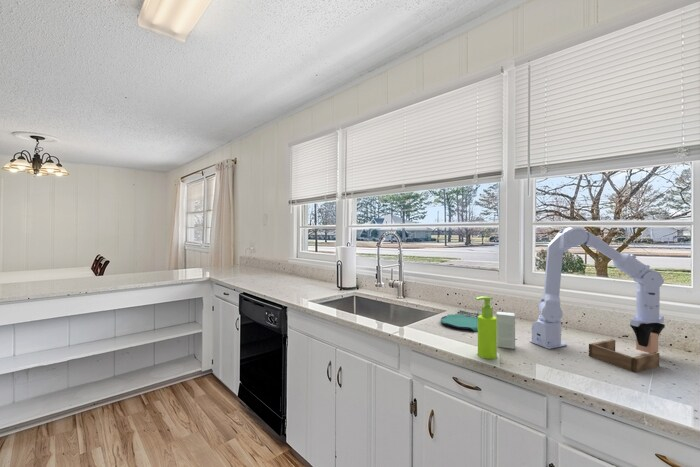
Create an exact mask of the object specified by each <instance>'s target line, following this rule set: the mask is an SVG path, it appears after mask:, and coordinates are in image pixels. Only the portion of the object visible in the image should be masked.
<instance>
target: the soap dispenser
mask: <svg viewBox="0 0 700 467" xmlns="http://www.w3.org/2000/svg"><path fill="white" fill-rule="evenodd" d="M474 299H475V300H476V301H480V300H481V301H482V300H484V304H483V305H482V306H481V314H482V315H479V316H478V317H477V318H478V332H477V356H478V357H480V358H482V357H483V359H485V358H487V359H486V360H495V359H496V358H497V356H498V355H497V353H498V352H497V350H498V349H497V348H498V347H497V316H494V314H493V311H494V309H493V308H494V307H493V306H492V305H491V300H493V297H491V296H487V295H486V296H483V295H481V296H480V295H479V296H476V297H474ZM494 358H495V359H494Z"/></svg>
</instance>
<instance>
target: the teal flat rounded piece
mask: <svg viewBox="0 0 700 467" xmlns="http://www.w3.org/2000/svg"><path fill="white" fill-rule="evenodd" d="M479 315H482V313H479V312H477V313H476V312H469V311H465V310H461V309H459V311H457V312H456V313H453V314H447V315H445V316H442V317H440V320H439V321H440V323H441V324H443V325H447V326H450V327H453V328H457V329H463V330H472V331H474V333H478V316H479Z"/></svg>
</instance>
